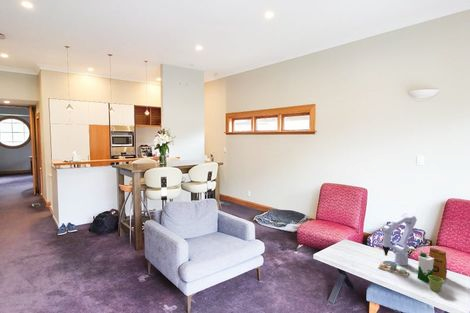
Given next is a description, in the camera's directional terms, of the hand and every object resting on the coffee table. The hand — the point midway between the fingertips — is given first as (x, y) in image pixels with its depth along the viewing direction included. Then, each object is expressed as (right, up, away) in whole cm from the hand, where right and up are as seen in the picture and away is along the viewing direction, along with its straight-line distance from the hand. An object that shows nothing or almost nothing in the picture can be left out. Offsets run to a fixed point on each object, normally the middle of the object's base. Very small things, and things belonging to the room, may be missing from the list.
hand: (386, 255), depth 235 cm
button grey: (+1, -9, -9) cm, 12 cm away
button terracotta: (-4, -9, -4) cm, 11 cm away
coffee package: (+32, -11, -16) cm, 38 cm away
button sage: (+7, -10, -13) cm, 18 cm away
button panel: (+1, -10, -8) cm, 13 cm away
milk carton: (+19, -12, -21) cm, 31 cm away
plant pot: (+16, -13, -36) cm, 41 cm away
